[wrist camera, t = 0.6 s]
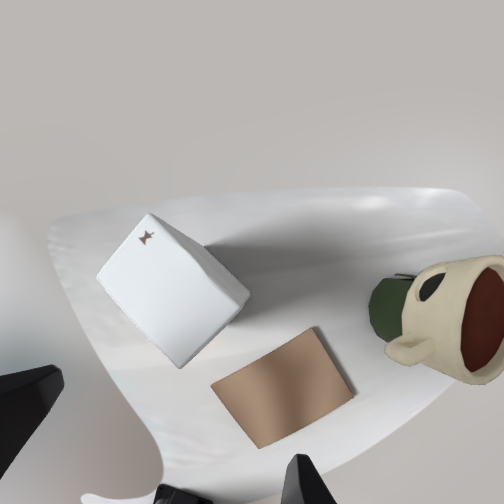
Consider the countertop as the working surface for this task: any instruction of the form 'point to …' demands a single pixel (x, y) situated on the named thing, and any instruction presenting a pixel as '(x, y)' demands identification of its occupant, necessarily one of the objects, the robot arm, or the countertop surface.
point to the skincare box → (172, 289)
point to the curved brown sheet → (283, 390)
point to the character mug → (445, 318)
